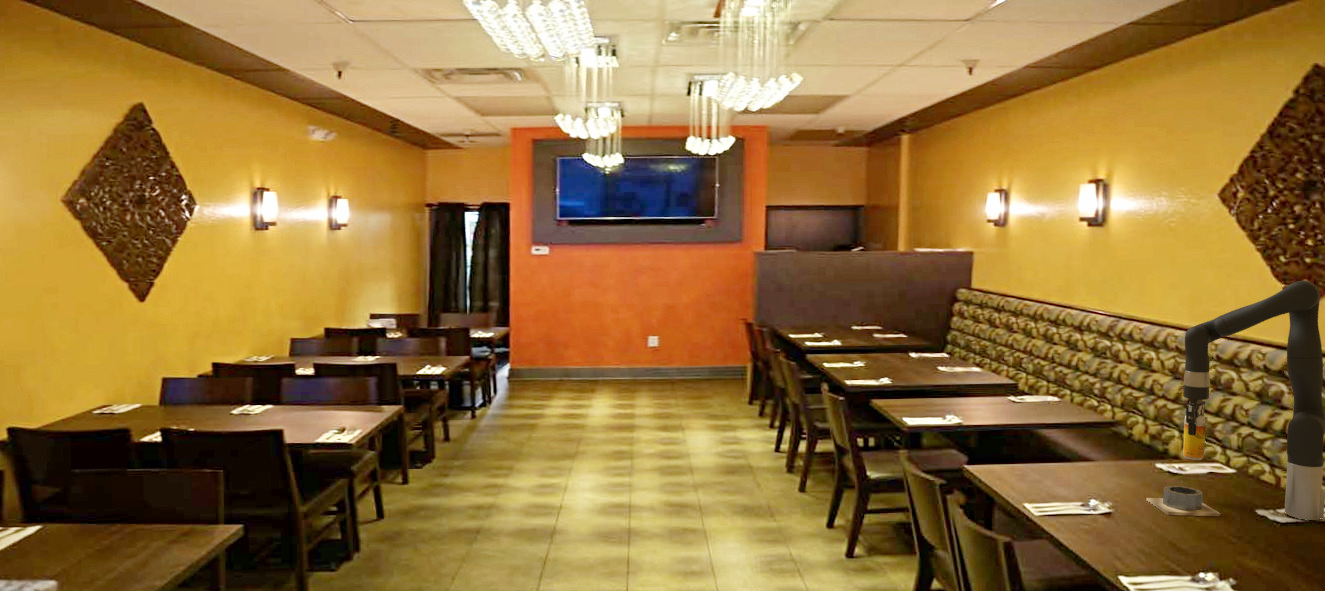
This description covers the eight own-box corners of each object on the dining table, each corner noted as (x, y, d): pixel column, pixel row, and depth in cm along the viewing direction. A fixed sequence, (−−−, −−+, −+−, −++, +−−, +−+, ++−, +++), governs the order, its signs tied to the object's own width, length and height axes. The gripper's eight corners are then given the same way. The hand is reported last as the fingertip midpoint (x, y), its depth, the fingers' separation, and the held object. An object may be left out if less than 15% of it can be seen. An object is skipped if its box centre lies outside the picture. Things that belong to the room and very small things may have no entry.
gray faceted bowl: (1191, 500, 295) (1191, 486, 295) (1208, 511, 284) (1209, 495, 284) (1157, 499, 296) (1157, 485, 296) (1173, 510, 285) (1173, 494, 285)
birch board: (1195, 501, 297) (1196, 499, 297) (1220, 516, 282) (1220, 513, 282) (1146, 500, 298) (1146, 497, 298) (1167, 514, 284) (1168, 511, 283)
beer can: (1202, 461, 297) (1204, 417, 296) (1181, 458, 300) (1183, 415, 299) (1204, 457, 301) (1206, 414, 300) (1184, 455, 305) (1186, 412, 304)
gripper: (1203, 388, 291) (1201, 438, 293) (1214, 383, 302) (1212, 431, 303) (1177, 385, 297) (1176, 435, 298) (1189, 380, 307) (1188, 428, 308)
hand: (1194, 433), depth 300 cm, fingers closed on beer can, 5 cm apart
